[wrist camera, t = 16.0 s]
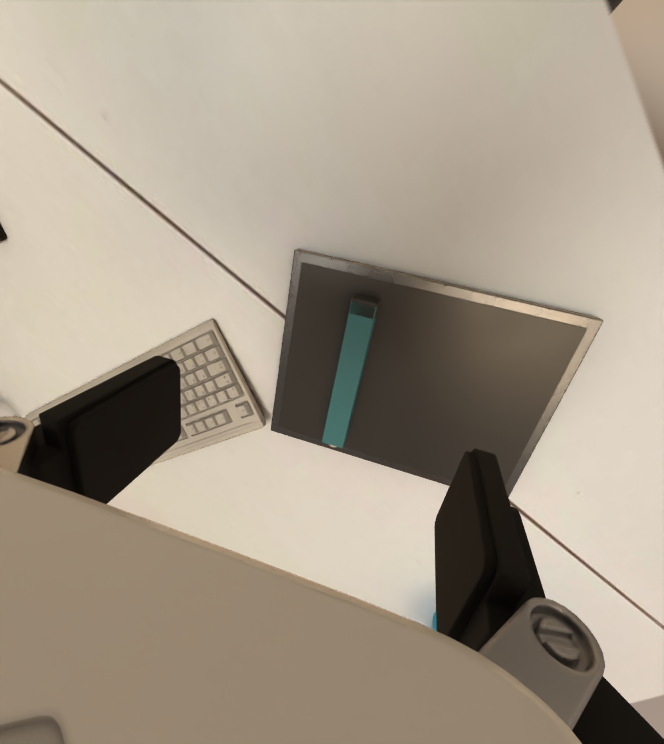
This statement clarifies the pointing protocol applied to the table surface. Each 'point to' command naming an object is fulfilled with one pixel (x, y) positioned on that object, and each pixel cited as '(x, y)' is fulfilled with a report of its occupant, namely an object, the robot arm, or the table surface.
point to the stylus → (350, 368)
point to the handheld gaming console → (2, 234)
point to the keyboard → (197, 391)
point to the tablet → (426, 368)
